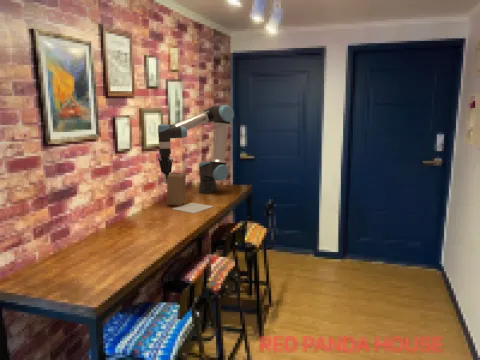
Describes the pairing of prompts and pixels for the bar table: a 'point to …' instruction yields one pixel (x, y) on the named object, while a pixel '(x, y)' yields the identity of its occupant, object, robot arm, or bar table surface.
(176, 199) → the wooden block
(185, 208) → the mat
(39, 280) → the bar table surface
